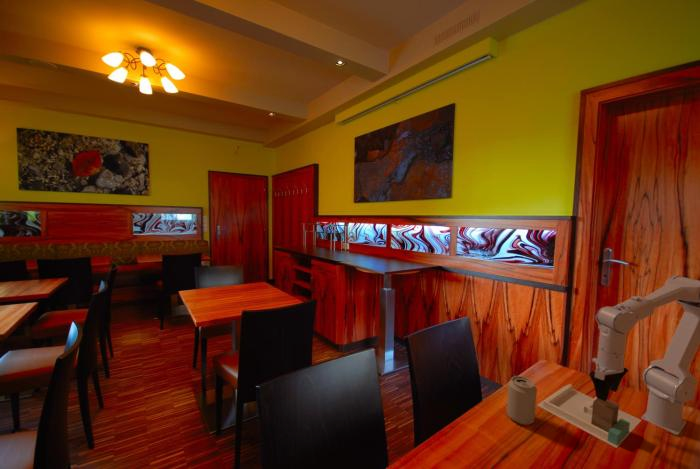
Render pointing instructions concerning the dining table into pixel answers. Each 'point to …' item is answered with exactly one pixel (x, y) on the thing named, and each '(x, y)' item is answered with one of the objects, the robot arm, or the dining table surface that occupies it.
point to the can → (521, 400)
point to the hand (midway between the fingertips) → (606, 394)
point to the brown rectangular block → (604, 414)
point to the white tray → (587, 415)
